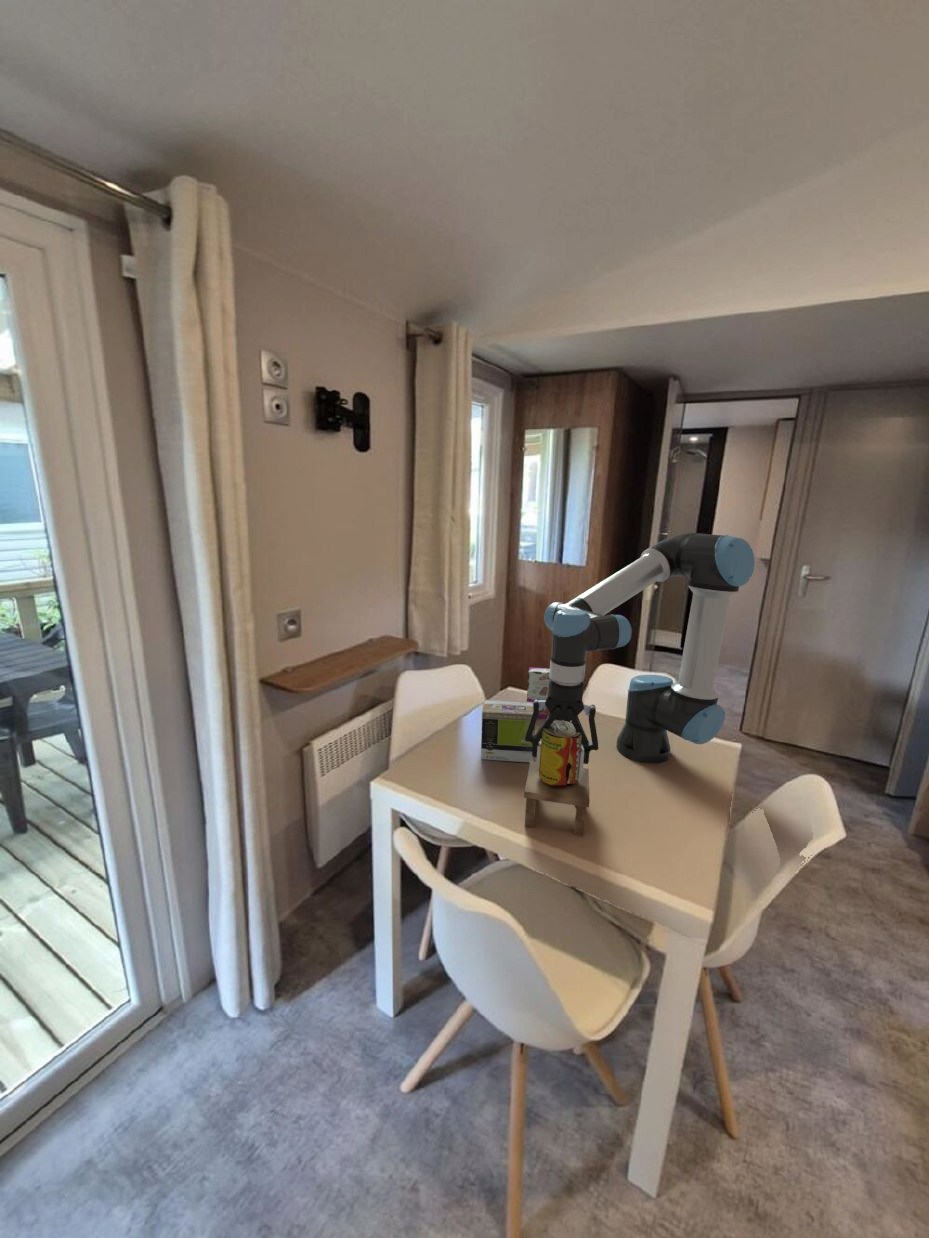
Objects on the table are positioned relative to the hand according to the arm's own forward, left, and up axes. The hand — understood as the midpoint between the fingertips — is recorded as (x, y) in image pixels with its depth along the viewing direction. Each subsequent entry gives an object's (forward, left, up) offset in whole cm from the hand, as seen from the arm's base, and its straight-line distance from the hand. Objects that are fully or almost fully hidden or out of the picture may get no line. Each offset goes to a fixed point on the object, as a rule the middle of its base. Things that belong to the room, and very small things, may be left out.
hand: (558, 772), depth 117 cm
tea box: (+15, -26, -11) cm, 32 cm away
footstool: (0, 0, -11) cm, 11 cm away
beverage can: (0, 0, -1) cm, 1 cm away
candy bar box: (+7, -56, -11) cm, 57 cm away
